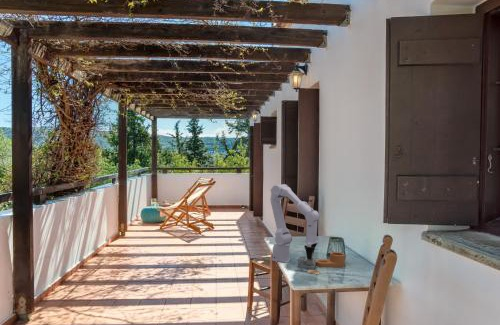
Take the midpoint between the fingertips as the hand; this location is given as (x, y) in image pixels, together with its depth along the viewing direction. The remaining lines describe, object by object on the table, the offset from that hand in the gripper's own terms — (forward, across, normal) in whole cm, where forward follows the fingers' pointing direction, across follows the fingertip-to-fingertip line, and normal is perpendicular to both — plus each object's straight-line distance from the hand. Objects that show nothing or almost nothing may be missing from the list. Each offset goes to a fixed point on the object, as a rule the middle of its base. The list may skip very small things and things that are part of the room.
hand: (310, 257), depth 219 cm
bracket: (+6, +9, -10) cm, 15 cm away
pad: (+5, -9, -4) cm, 11 cm away
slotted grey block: (+3, 0, 0) cm, 3 cm away
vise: (+5, -2, +1) cm, 6 cm away
